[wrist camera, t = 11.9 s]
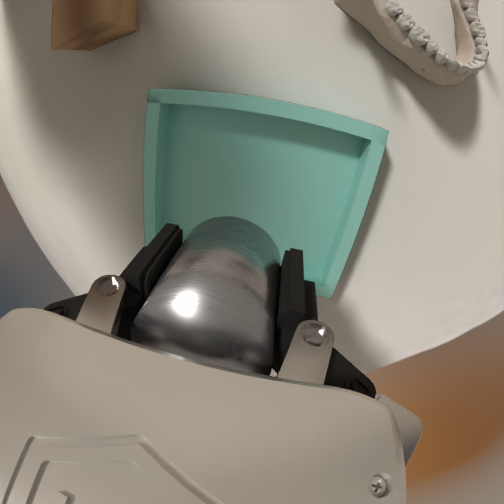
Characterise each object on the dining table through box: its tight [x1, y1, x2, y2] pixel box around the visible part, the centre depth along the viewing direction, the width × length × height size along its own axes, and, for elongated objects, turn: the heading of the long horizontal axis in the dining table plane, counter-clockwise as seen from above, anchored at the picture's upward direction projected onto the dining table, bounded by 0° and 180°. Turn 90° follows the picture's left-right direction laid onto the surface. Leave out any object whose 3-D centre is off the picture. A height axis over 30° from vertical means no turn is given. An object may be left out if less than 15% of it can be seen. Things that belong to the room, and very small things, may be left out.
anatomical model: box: [334, 0, 489, 86], centre depth 8 cm, size 13×11×10 cm
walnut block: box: [52, 0, 139, 51], centre depth 12 cm, size 5×5×5 cm
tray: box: [143, 89, 389, 298], centre depth 20 cm, size 16×14×2 cm
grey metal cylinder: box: [131, 216, 281, 376], centre depth 10 cm, size 5×5×6 cm
